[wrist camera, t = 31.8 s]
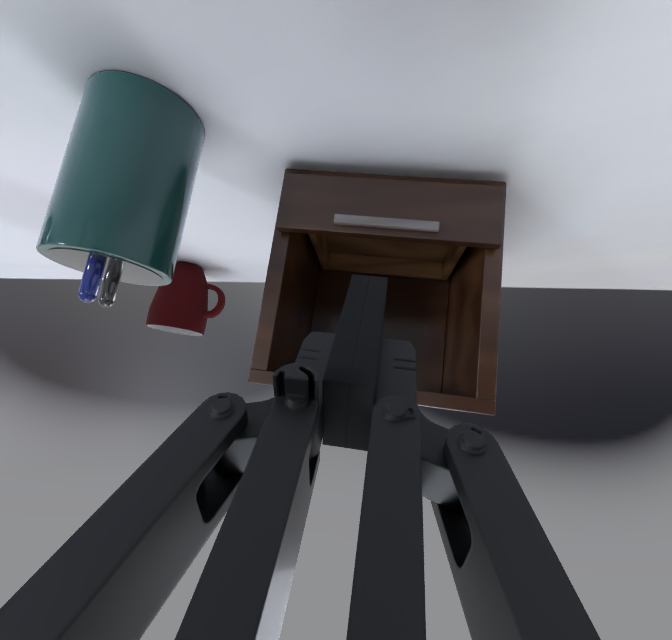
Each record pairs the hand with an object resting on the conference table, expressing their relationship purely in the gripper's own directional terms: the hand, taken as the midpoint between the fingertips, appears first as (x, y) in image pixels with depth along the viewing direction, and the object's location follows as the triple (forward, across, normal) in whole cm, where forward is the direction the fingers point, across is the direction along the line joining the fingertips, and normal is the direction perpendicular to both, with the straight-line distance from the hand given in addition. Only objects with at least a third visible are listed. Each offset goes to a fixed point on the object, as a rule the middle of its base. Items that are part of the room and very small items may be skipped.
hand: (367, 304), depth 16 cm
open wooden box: (+20, 0, -3) cm, 20 cm away
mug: (+34, -28, -17) cm, 47 cm away
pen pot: (+11, -16, +6) cm, 20 cm away
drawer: (+18, 0, -3) cm, 18 cm away
